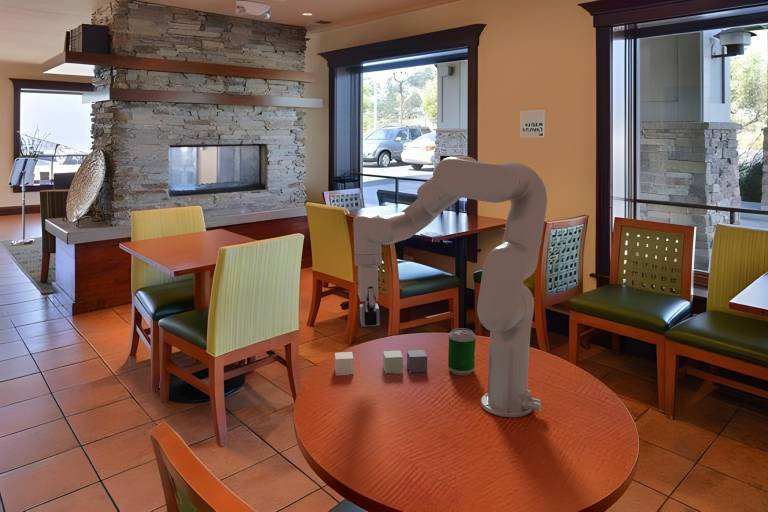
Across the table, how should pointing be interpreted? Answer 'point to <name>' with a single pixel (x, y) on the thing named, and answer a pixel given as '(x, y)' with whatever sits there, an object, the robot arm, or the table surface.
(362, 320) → the slate block
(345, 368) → the cream block
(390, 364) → the sage block
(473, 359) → the soda can
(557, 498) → the table surface
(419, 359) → the charcoal block
